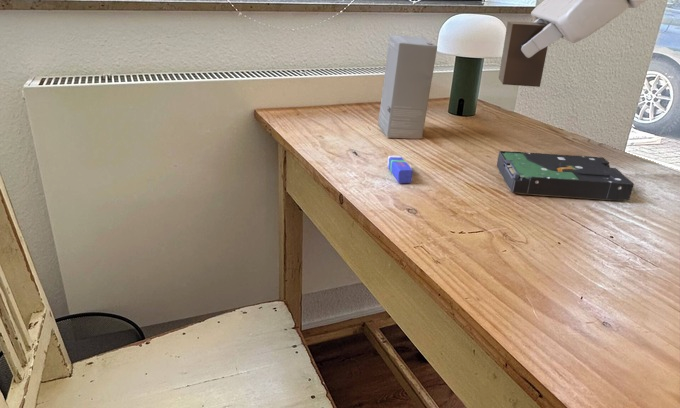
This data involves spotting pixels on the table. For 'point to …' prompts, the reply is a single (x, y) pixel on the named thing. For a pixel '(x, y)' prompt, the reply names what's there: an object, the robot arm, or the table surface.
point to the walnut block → (521, 56)
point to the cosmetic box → (406, 86)
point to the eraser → (400, 169)
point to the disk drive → (563, 176)
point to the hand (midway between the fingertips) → (519, 50)
